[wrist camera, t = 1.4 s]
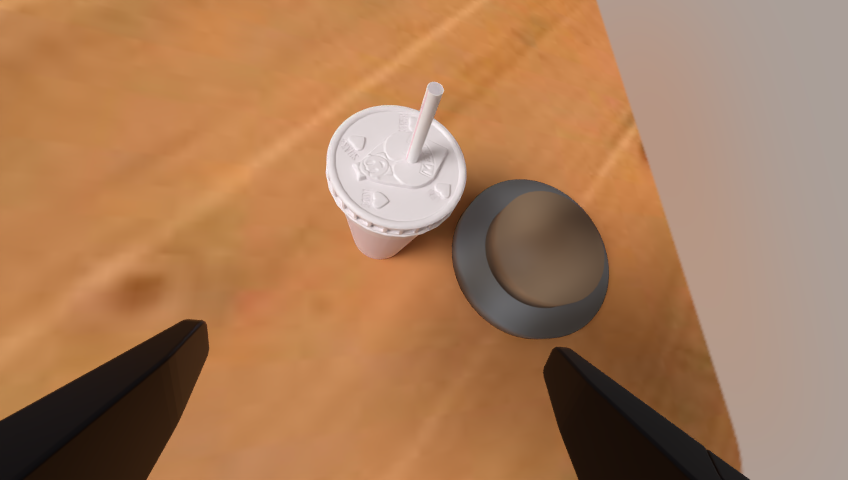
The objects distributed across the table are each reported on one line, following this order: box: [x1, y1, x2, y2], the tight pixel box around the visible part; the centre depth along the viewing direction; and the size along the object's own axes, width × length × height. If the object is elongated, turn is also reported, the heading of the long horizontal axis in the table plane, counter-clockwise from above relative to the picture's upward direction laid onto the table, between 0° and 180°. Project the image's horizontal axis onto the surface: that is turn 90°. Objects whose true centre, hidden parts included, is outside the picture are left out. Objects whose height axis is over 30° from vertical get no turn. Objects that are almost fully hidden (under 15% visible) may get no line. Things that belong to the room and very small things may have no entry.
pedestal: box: [452, 179, 609, 339], centre depth 24 cm, size 12×12×4 cm
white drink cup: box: [326, 82, 466, 259], centre depth 17 cm, size 6×6×14 cm
